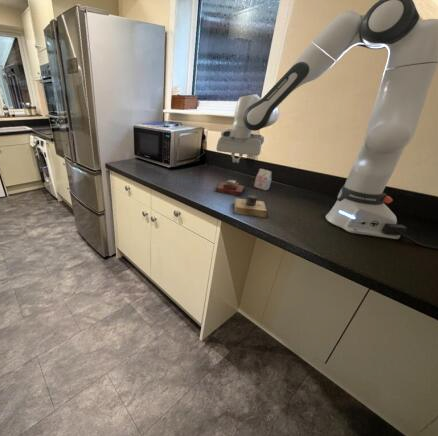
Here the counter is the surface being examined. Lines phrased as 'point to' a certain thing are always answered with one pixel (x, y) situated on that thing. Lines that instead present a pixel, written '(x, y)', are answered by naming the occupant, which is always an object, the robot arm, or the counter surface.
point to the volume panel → (250, 208)
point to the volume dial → (251, 200)
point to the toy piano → (230, 188)
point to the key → (231, 182)
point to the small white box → (263, 179)
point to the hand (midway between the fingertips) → (235, 162)
